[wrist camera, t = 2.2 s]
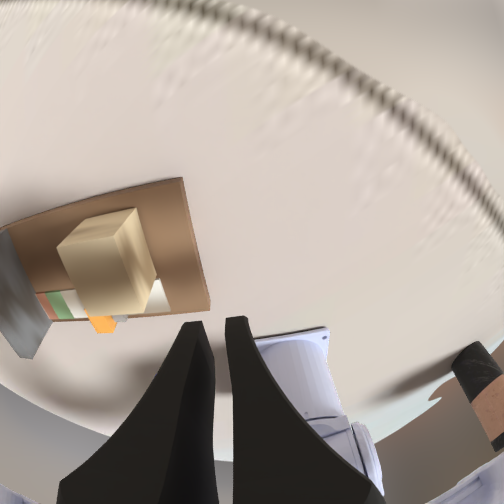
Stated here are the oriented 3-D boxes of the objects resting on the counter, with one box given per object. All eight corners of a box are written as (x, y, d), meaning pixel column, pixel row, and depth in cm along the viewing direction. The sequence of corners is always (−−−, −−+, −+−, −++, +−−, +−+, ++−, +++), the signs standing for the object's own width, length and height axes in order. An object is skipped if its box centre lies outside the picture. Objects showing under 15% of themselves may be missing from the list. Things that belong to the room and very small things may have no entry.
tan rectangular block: (166, 303, 19) (157, 342, 16) (121, 307, 19) (106, 344, 16) (136, 207, 16) (113, 235, 12) (85, 219, 16) (56, 247, 12)
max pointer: (119, 315, 19) (113, 332, 18) (104, 316, 19) (97, 333, 18) (108, 291, 18) (99, 308, 16) (93, 292, 18) (83, 309, 16)
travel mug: (464, 345, 31) (518, 435, 14) (487, 336, 32) (538, 414, 15) (443, 374, 35) (486, 459, 18) (467, 364, 36) (509, 439, 18)
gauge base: (210, 300, 21) (207, 361, 16) (45, 314, 21) (19, 357, 16) (182, 177, 16) (160, 211, 11) (3, 226, 16) (-38, 262, 11)
